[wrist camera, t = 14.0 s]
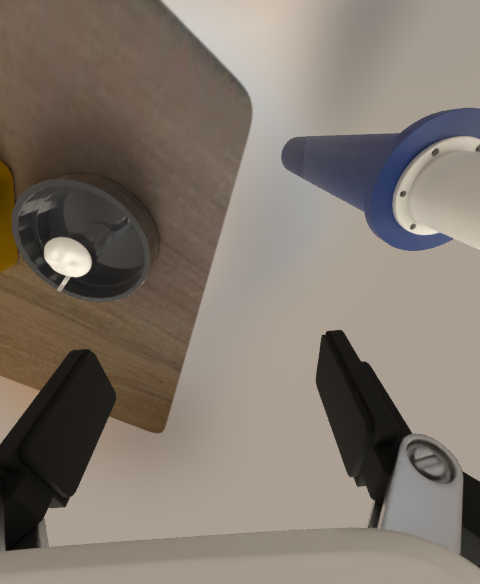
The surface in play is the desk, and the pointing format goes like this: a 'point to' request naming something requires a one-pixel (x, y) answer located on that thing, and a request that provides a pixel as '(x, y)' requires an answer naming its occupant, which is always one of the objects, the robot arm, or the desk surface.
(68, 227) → the pan
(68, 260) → the milkshake
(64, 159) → the desk surface
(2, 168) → the element tile
